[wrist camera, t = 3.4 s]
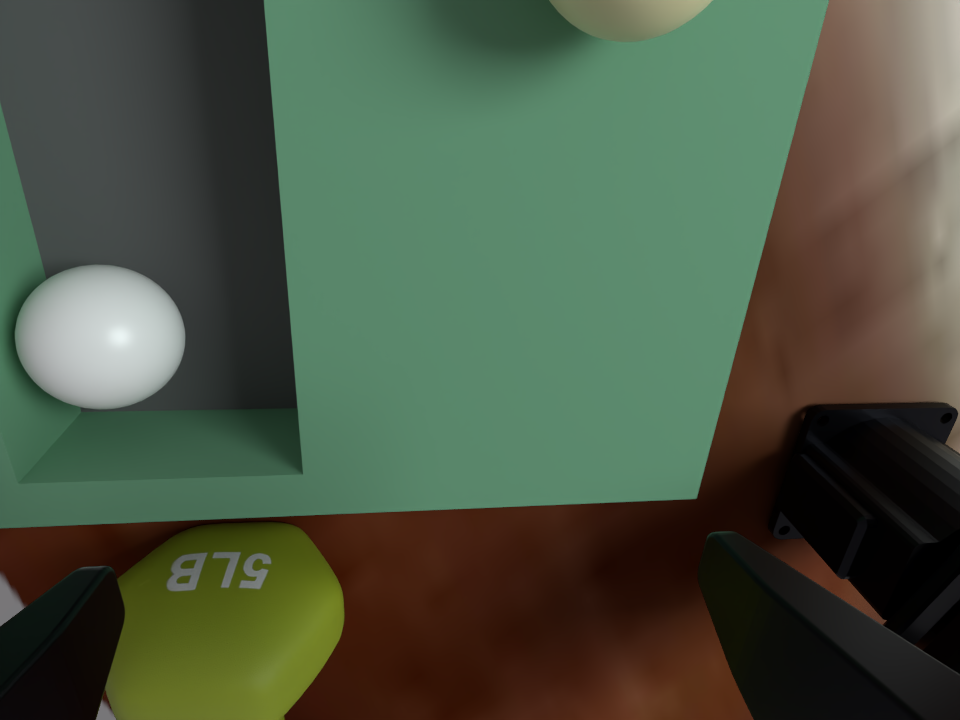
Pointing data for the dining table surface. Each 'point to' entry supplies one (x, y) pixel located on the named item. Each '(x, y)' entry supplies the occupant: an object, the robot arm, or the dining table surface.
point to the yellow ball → (628, 17)
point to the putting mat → (389, 247)
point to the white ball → (100, 336)
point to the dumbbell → (224, 625)
